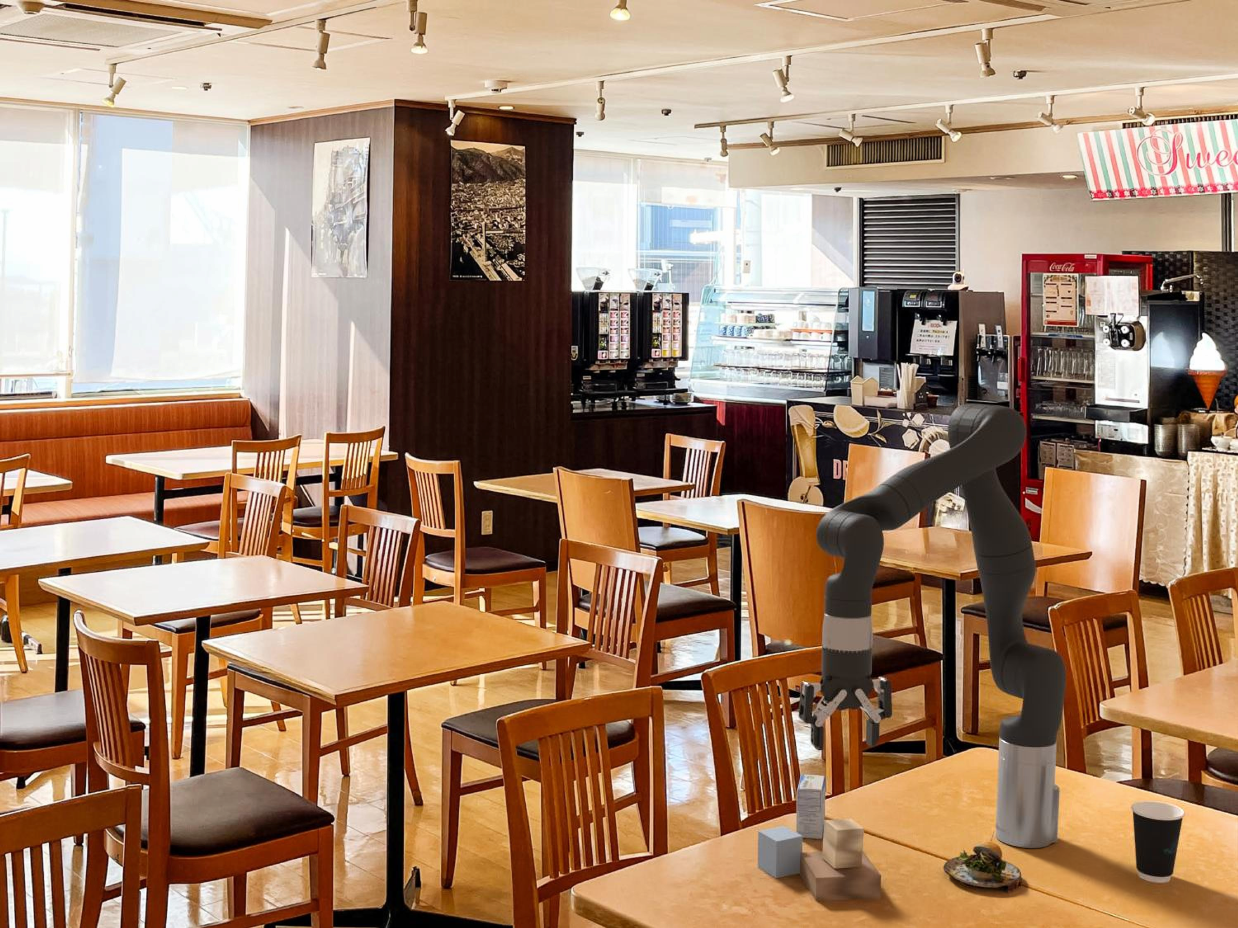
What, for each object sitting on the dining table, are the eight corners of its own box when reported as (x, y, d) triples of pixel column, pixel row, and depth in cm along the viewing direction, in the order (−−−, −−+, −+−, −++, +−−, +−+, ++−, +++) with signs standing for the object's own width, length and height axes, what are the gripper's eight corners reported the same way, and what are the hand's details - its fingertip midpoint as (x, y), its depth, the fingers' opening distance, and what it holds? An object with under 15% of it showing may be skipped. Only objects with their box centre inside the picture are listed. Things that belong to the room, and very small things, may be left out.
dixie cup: (1183, 889, 216) (1187, 820, 214) (1128, 882, 218) (1132, 814, 217) (1179, 870, 223) (1182, 803, 222) (1126, 864, 226) (1129, 797, 224)
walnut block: (861, 874, 221) (862, 850, 221) (880, 900, 211) (881, 875, 211) (799, 876, 220) (800, 852, 220) (815, 903, 210) (816, 877, 210)
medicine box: (822, 840, 235) (823, 790, 234) (795, 837, 236) (796, 788, 235) (824, 823, 242) (826, 775, 241) (799, 821, 243) (800, 773, 242)
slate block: (783, 861, 225) (784, 825, 225) (801, 872, 221) (802, 835, 220) (757, 867, 223) (758, 830, 222) (775, 878, 218) (776, 841, 218)
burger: (928, 871, 222) (930, 826, 222) (989, 861, 227) (991, 816, 226) (975, 900, 211) (977, 852, 211) (1038, 888, 216) (1040, 842, 215)
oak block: (848, 855, 218) (850, 818, 218) (861, 866, 214) (864, 828, 214) (822, 857, 217) (824, 819, 217) (834, 868, 213) (837, 829, 212)
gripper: (880, 635, 217) (877, 736, 219) (794, 639, 214) (791, 742, 216) (901, 646, 210) (898, 751, 212) (812, 650, 207) (809, 757, 208)
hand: (844, 746), depth 214 cm, fingers open, 8 cm apart
